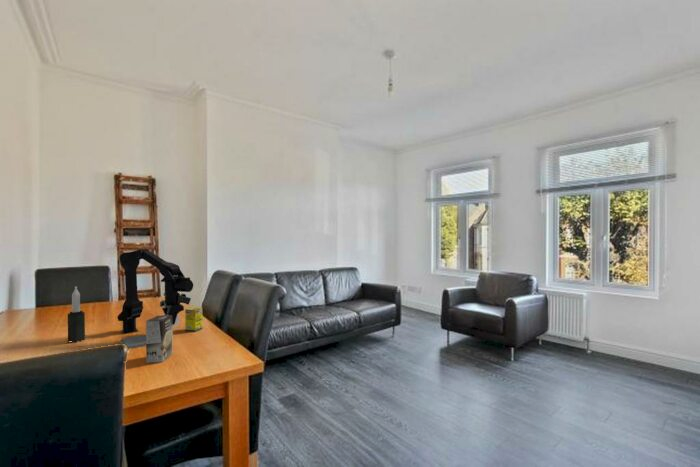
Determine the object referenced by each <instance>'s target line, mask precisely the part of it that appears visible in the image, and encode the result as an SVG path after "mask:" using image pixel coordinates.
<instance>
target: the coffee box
mask: <svg viewBox="0 0 700 467" xmlns="http://www.w3.org/2000/svg"><path fill="white" fill-rule="evenodd" d="M145 335H146V346H145V351H146V352H145V356H146V358H145V359H146V360H145V362H146V363H147V364H149V363H163V362H164V361H165V360H167V359H168V358H170V357H171V356H172V355H173V350H174V349H173V327H172V315H165V314H164V315H156V316H154V317H151V318H149V319H148V320H145Z"/></svg>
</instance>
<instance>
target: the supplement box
mask: <svg viewBox="0 0 700 467" xmlns="http://www.w3.org/2000/svg"><path fill="white" fill-rule="evenodd" d="M184 311H185V314H184V315H185V318H184V321H185V323H184V324H185V326H184V328H185V329H184V330H185V332H195V333H196V332H198V331H200V330H203V307H199V306H198V307H197V306H196V307H195V306H192V307H190V308H187V309H186V308H185V309H184Z"/></svg>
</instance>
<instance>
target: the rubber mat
mask: <svg viewBox="0 0 700 467" xmlns="http://www.w3.org/2000/svg"><path fill="white" fill-rule="evenodd" d="M120 342H122V343H121V344H122V345H123V344H125V345H126V346H127V348H128V349H127V350H130V349H129V348H131V349H137V348H141V347H146V334H142V335H135V336H131V337H129V336H128V337H124V338H120Z"/></svg>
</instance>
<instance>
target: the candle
mask: <svg viewBox="0 0 700 467" xmlns="http://www.w3.org/2000/svg"><path fill="white" fill-rule="evenodd" d="M85 319H86V318H85V312H84V311H83V310H81V293H80V292H79V290H78V286H74V290H73V292H72V293H71V311H70V312H69V313H67V342H68V341H72V342H77V341H80V342H82V341H81V340H84V341H85V340H86V330H85V329H86V324H85V321H86V320H85ZM72 342H71V343H72ZM77 343H78V342H77Z"/></svg>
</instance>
